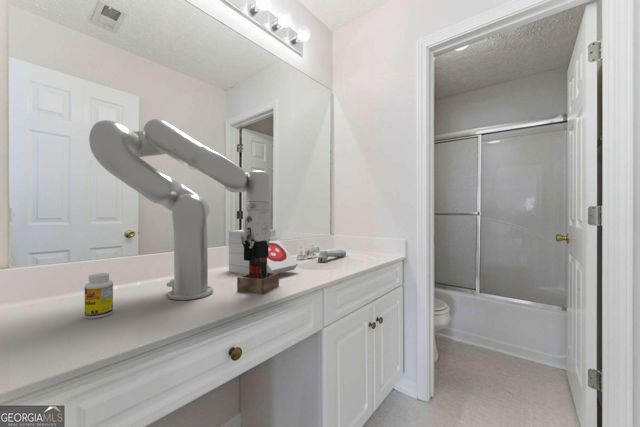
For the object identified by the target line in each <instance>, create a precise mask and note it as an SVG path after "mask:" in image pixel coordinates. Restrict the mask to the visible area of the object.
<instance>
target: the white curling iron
mask: <svg viewBox="0 0 640 427" xmlns="http://www.w3.org/2000/svg"><path fill="white" fill-rule="evenodd" d="M346 255H347V252H346V250H343V249H338V250H319V253H318V255H317V257H316V258H317V262H319V263H323V262H324V263H328V259H329V258H330V257H331V258H343V257H346Z"/></svg>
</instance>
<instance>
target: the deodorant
mask: <svg viewBox="0 0 640 427" xmlns="http://www.w3.org/2000/svg"><path fill="white" fill-rule="evenodd" d="M249 243H251V242H249ZM252 248H253V261H249V278H259V279H264V278H266V277H267V241H262V242H256V241H255V242H254V244H253V247H252Z"/></svg>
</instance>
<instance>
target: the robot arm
mask: <svg viewBox="0 0 640 427" xmlns="http://www.w3.org/2000/svg"><path fill="white" fill-rule="evenodd" d="M88 141H89V148H90V150H91V153H92V155H93V157H94V158H95V160H96V161H97V162H98V163H99V164H100V165H101V166H102V167H103V168H104V169H105V170H106V171H107V172H108V173H110V174H112V176H114V177H115V178H116V179H118V180H120V181H121V182H122V183H125V185H126V186H128V187H130V188H131V189H133V190H134V191H136V192H137V193H138V194H140V195H142V196H143V197H145V198H146V199H147V200H148V201H150V202H151V203H154V204H157V205H161V206H163V207H164V208H166V209H168V210H169V211H171V217H172V227H173V229H172V230H173V252H174V253H173V257H174V258H173V260H174V261H173V262H174V263H173V268H174V269H173V271H174V272H173V273H174V274H173V276H174V279H173V278H171V279H170V280H169V282H166V287H168V288H169V287H171V291H169V292H168V298H169V299H171V300H175V301H188V300H196V299H200V298H204V297H207V296H210V295H211V294H212V293H213V292H214V288H213V287H212V286H210V285H209V284H208V281H209V280H208V279H209V277H208V275H209V273H208V268H209V267H208V266H209V265H208V262H209V261H208V254H209V253H208V221H207V220H208V217H209V216H210V211H211V210H210V204H209V203H208V202H207V200H206V199H205V198H204V197H202V196H200V195H199V194H197V193H196V192H194V191H193V190H191V189H190V188H188V187H187V186H186V185H184V184H183V183H181V182H179V181H178V180H176V179H175V178H173V177H171V176H170V175H169V174H165V173H163V172H161V171H160V170H158V169H156V168H155V167H153V166H152V165H151V164H149V163H147V161H145V160H143V159H142V158H143V157H152V156H160V155H161V156H162V155H167V156H170V157H171V158H172V159H174V160H176V161H177V162H178V163H181V165H184V166H185V167H188V168H189V169H191V170H195V171H199V172H201V173H202V174H204V175H206V176H208V177H210V178H211V179H213V180H215V181H216V182H218V183H219V184H221V185H223V186H224V187H225V189H226V190H227V191H228V192H231V193H244V192H245V193H246V203H245V205H246V206H245V212H246V213H245V217H244V218H245V219H244V225H243V226H244V228H243V230H244V232H243V233H242V234H241V240H242V244H243V248H244V260H246V261H253V248H252V247H253V244H254V242H255V241H256V242H262V241H267V257H268V247H269V241H270V238H271V230H272V229H271V216H270V180H271V179H270V174H269V173H268V172H267V171H264V170H251V171H248V172H246V171H245V169H244V168H242V167H240V166H239V165H237V163H235V162H233V161H231V160H230V159H228V158H227V157H225V156H224V155H222V154H220V153H219V152H216V151H215V150H212V149H211V148H209V147H208V146H206V145H204V144H202V143H201V142H199V141H197V140H196V139H194V138H192V137H191V136H189V135H188V134H187V133H185V132H184V131H182V130H181V129H179V128H177V127H175V126H174V125H173V124H170V123H169V122H167V121H165V120H162V119H159V118H153V119H150V120H148V121H147V122H146V123H145V124H144V126H143V130H138V131H137V130H136V131H132V130H130V129H129V128H128V127H127V126H125V125H124V124H122V123H119V122H117V121H115V120H109V119H107V120H100V121H98V122H96V123H94V124H93V125H92V127H91V129H90V133H89V138H88ZM249 242H251V243H249Z"/></svg>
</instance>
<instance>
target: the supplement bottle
mask: <svg viewBox="0 0 640 427" xmlns="http://www.w3.org/2000/svg"><path fill="white" fill-rule="evenodd" d="M113 311H114V283H113V281H112V280H110V273H108V272H103V273H102V272H101V273H93V274H90V275H88V282H87V283H86V284H84V317H85V319H92V320H93V319H99V318H104V317H107V316H109V315H112V313H113Z"/></svg>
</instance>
